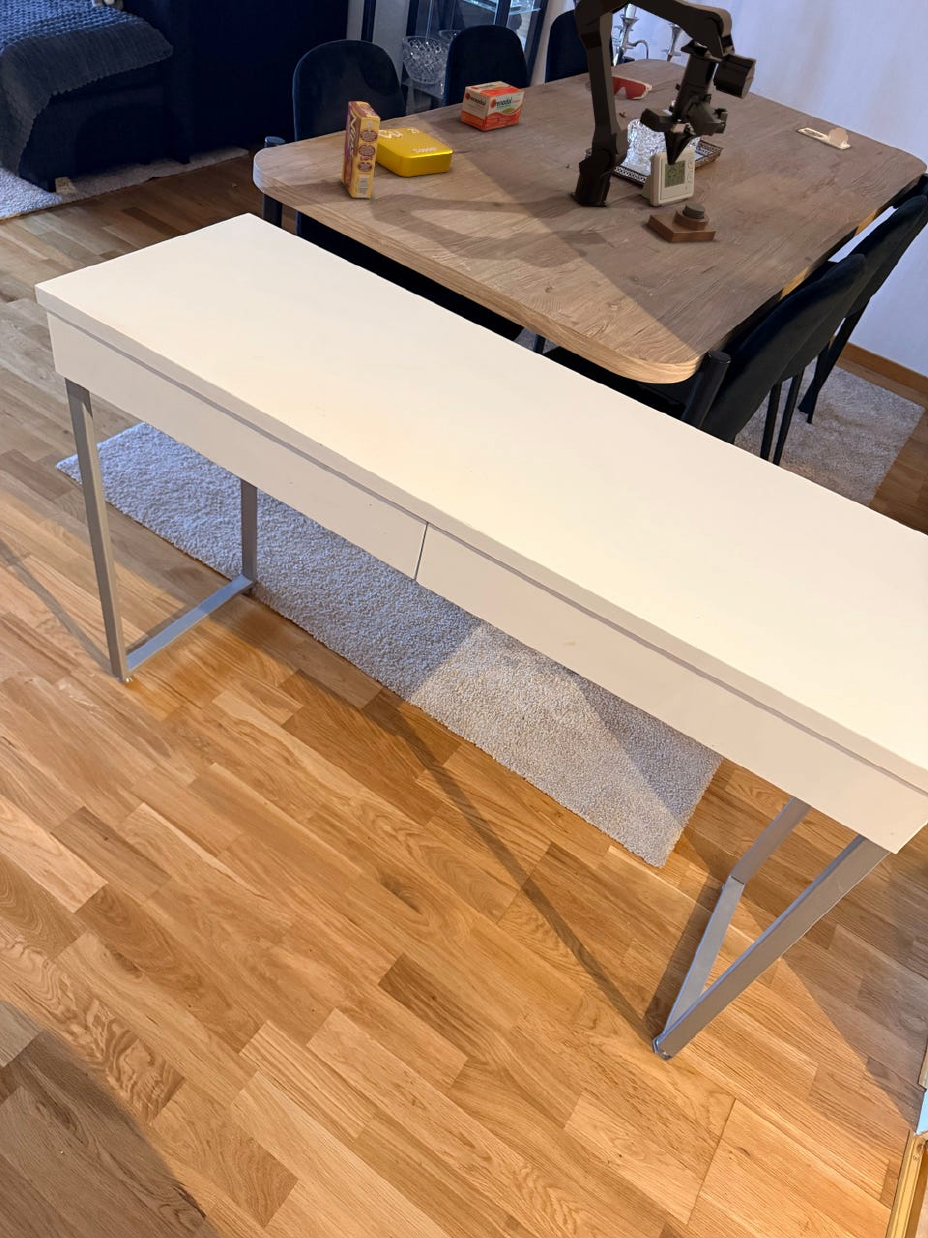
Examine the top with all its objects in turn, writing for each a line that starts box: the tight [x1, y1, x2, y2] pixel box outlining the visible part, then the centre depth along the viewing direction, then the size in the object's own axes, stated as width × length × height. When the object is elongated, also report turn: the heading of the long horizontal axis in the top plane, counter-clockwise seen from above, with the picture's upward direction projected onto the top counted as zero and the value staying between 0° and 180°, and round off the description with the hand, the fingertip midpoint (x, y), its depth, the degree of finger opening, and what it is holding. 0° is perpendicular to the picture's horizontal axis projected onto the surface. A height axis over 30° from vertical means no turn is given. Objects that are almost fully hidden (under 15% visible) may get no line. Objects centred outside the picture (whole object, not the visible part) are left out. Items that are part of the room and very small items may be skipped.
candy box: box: [341, 101, 381, 200], centre depth 182 cm, size 9×4×15 cm, turn 20°
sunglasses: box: [612, 73, 653, 100], centre depth 278 cm, size 17×17×5 cm
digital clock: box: [640, 146, 696, 207], centre depth 213 cm, size 16×9×11 cm, turn 123°
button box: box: [647, 206, 717, 243], centre depth 202 cm, size 12×9×4 cm
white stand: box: [797, 127, 851, 150], centre depth 278 cm, size 15×7×4 cm, turn 46°
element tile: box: [375, 126, 453, 178], centre depth 202 cm, size 15×15×5 cm
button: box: [683, 202, 706, 219], centre depth 201 cm, size 4×4×2 cm
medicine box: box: [460, 80, 525, 132], centre depth 231 cm, size 15×8×8 cm, turn 142°
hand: (670, 164), depth 194 cm, fingers closed
